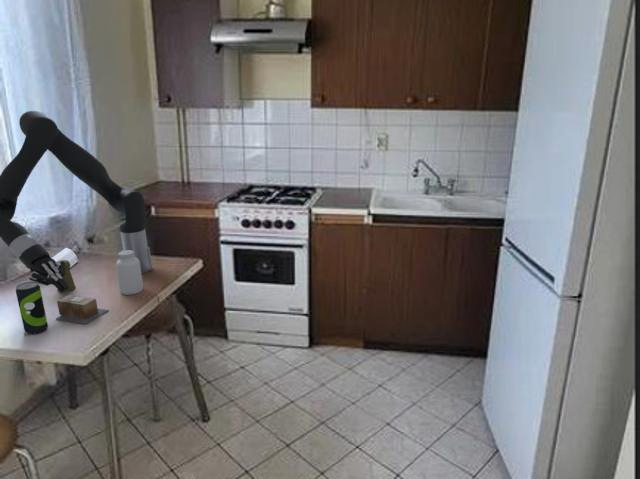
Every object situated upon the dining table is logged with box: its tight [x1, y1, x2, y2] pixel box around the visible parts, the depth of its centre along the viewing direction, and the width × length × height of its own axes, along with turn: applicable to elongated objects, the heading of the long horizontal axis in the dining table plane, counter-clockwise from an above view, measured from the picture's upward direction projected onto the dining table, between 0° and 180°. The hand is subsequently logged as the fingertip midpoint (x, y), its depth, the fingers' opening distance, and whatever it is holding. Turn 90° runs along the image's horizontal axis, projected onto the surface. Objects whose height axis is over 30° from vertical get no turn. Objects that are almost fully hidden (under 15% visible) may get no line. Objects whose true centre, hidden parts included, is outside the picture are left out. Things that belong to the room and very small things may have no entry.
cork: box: [56, 260, 76, 293], centre depth 174 cm, size 6×6×11 cm
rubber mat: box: [55, 308, 109, 326], centre depth 154 cm, size 12×10×1 cm
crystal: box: [44, 247, 78, 281], centre depth 194 cm, size 7×7×24 cm
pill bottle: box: [115, 250, 144, 296], centre depth 171 cm, size 8×8×15 cm
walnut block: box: [56, 294, 99, 319], centre depth 154 cm, size 5×5×11 cm
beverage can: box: [15, 280, 49, 335], centre depth 143 cm, size 6×6×15 cm
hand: (65, 290), depth 153 cm, fingers closed
